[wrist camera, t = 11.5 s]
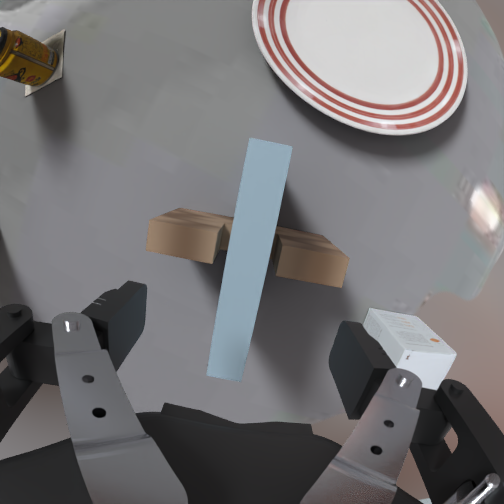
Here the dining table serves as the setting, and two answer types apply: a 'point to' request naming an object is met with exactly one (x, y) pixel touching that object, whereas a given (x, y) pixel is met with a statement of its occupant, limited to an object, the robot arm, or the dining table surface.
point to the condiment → (30, 59)
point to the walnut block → (218, 236)
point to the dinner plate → (366, 59)
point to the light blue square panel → (248, 256)
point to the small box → (411, 345)
